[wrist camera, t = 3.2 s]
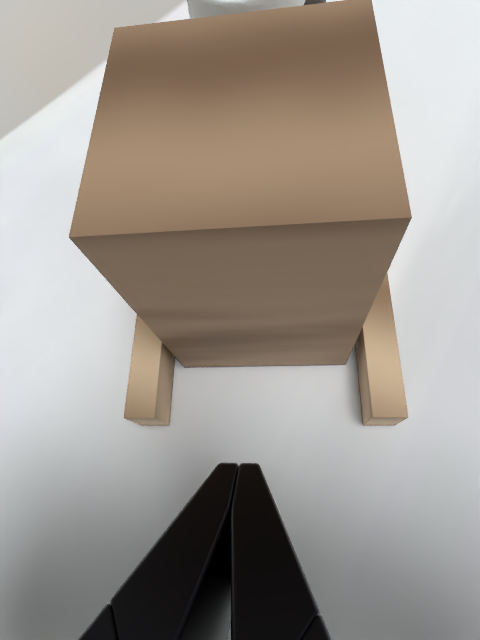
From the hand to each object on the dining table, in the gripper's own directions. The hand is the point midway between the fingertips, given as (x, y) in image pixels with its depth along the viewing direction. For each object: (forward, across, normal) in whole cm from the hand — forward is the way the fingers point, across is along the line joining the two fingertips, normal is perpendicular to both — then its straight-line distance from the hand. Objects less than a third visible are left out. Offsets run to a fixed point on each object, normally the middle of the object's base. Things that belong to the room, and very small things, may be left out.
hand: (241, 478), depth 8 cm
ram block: (+11, 0, 0) cm, 11 cm away
